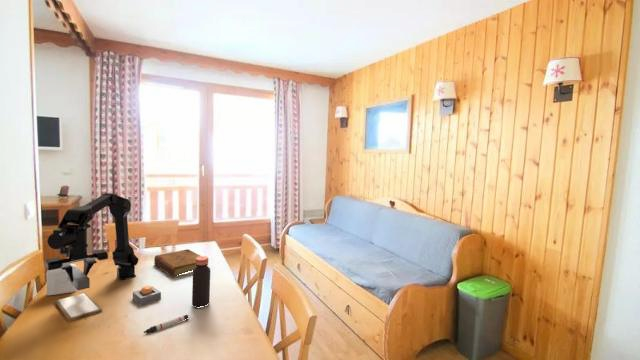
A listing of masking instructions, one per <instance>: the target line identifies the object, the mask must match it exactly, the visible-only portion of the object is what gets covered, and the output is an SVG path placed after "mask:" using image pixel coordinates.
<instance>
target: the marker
mask: <svg viewBox="0 0 640 360" xmlns="http://www.w3.org/2000/svg"><path fill="white" fill-rule="evenodd" d="M187 318H189V314H185V315H181V316H178V317H176V318H173V319H170V320H167V321H164V322H161V323H159V324H155V325H153V326H150V327H149V328H148V329H146V330H144V331H143V333H144V334H149V333H154V332H159V331H161V330H163V328H164V329H166V328H169V327H172V326H174V325H173V324H175V325H177V324H176V323H178V322H180V321H183V320H185V319H187ZM183 322H184V321H183ZM180 323H181V322H180ZM178 324H179V323H178ZM171 325H172V326H171ZM168 326H169V327H168ZM160 329H161V330H160Z"/></svg>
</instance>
